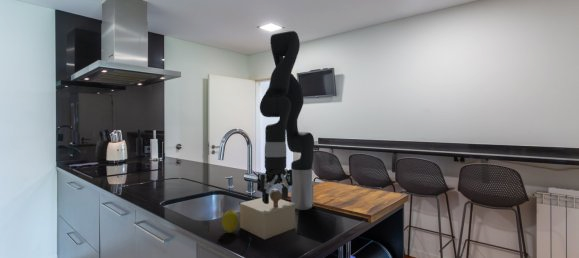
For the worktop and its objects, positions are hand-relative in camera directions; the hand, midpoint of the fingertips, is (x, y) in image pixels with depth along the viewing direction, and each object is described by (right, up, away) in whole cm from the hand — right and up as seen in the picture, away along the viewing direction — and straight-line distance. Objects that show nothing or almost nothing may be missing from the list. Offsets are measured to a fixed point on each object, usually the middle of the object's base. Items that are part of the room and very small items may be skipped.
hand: (275, 200), depth 101 cm
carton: (-3, -11, +4) cm, 12 cm away
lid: (-3, -3, +3) cm, 5 cm away
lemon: (-15, -11, -1) cm, 19 cm away
